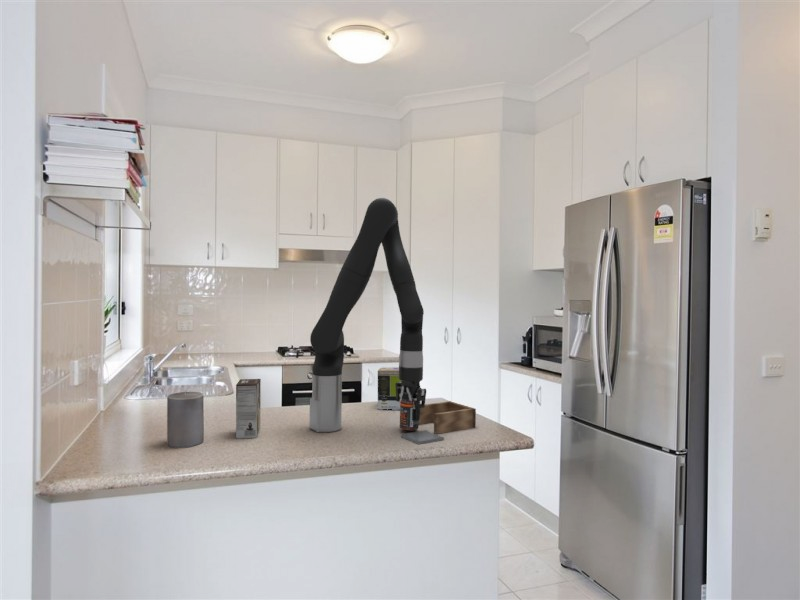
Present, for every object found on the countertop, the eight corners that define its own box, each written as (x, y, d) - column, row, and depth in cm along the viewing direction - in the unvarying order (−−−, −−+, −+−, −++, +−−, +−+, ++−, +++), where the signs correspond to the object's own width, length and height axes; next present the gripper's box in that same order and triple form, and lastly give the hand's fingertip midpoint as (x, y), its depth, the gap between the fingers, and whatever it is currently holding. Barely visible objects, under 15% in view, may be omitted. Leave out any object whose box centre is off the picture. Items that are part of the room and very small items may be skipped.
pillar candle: (174, 438, 159) (173, 387, 158) (208, 437, 160) (207, 386, 159) (161, 448, 149) (161, 394, 149) (198, 448, 150) (198, 393, 149)
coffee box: (239, 430, 168) (239, 378, 168) (260, 430, 169) (261, 378, 169) (235, 438, 159) (235, 384, 159) (258, 438, 160) (258, 383, 160)
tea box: (419, 405, 207) (420, 366, 207) (418, 411, 197) (418, 370, 197) (380, 404, 209) (381, 365, 208) (376, 410, 199) (377, 369, 198)
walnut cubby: (436, 434, 167) (436, 414, 167) (411, 424, 178) (411, 406, 178) (475, 427, 175) (475, 408, 175) (449, 418, 186) (449, 401, 186)
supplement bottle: (395, 428, 170) (396, 391, 170) (410, 425, 174) (410, 389, 174) (408, 432, 165) (409, 395, 165) (422, 429, 169) (423, 393, 169)
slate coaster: (418, 444, 155) (418, 441, 155) (401, 436, 163) (401, 434, 163) (443, 439, 160) (443, 437, 160) (425, 432, 168) (425, 430, 168)
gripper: (434, 367, 165) (433, 422, 166) (408, 361, 177) (406, 412, 178) (414, 368, 161) (412, 425, 162) (388, 362, 173) (387, 415, 174)
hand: (409, 418), depth 170 cm, fingers closed on supplement bottle, 6 cm apart
